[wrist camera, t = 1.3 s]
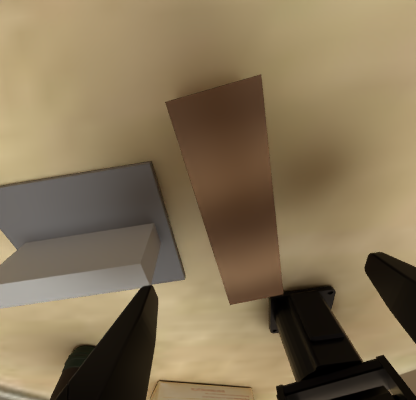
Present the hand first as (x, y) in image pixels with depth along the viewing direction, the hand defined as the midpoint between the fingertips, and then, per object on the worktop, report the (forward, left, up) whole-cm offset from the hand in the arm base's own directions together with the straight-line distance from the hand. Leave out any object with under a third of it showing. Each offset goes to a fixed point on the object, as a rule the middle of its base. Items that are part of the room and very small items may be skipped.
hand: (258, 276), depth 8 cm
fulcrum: (-2, +11, -7) cm, 13 cm away
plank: (0, 0, -8) cm, 8 cm away
